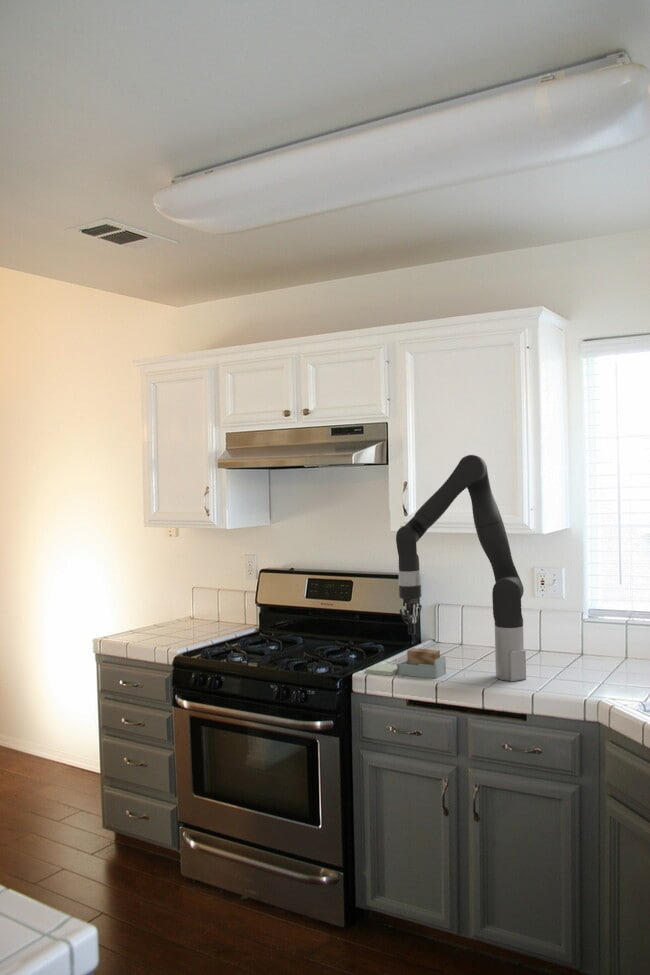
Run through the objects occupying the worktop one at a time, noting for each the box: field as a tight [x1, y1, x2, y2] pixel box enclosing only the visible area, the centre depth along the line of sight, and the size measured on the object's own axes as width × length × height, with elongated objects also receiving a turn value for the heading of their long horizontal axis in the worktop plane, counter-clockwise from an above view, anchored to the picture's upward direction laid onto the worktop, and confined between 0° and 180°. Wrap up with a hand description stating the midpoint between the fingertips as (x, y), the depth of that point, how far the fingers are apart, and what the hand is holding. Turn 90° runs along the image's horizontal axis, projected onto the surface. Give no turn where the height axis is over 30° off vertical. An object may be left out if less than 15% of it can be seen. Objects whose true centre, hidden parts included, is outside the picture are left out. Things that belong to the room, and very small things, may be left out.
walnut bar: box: [406, 647, 441, 665], centre depth 284 cm, size 10×4×4 cm, turn 59°
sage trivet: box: [364, 663, 397, 676], centre depth 290 cm, size 10×10×1 cm
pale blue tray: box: [396, 655, 447, 679], centre depth 285 cm, size 14×8×6 cm, turn 59°
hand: (411, 634), depth 286 cm, fingers closed
